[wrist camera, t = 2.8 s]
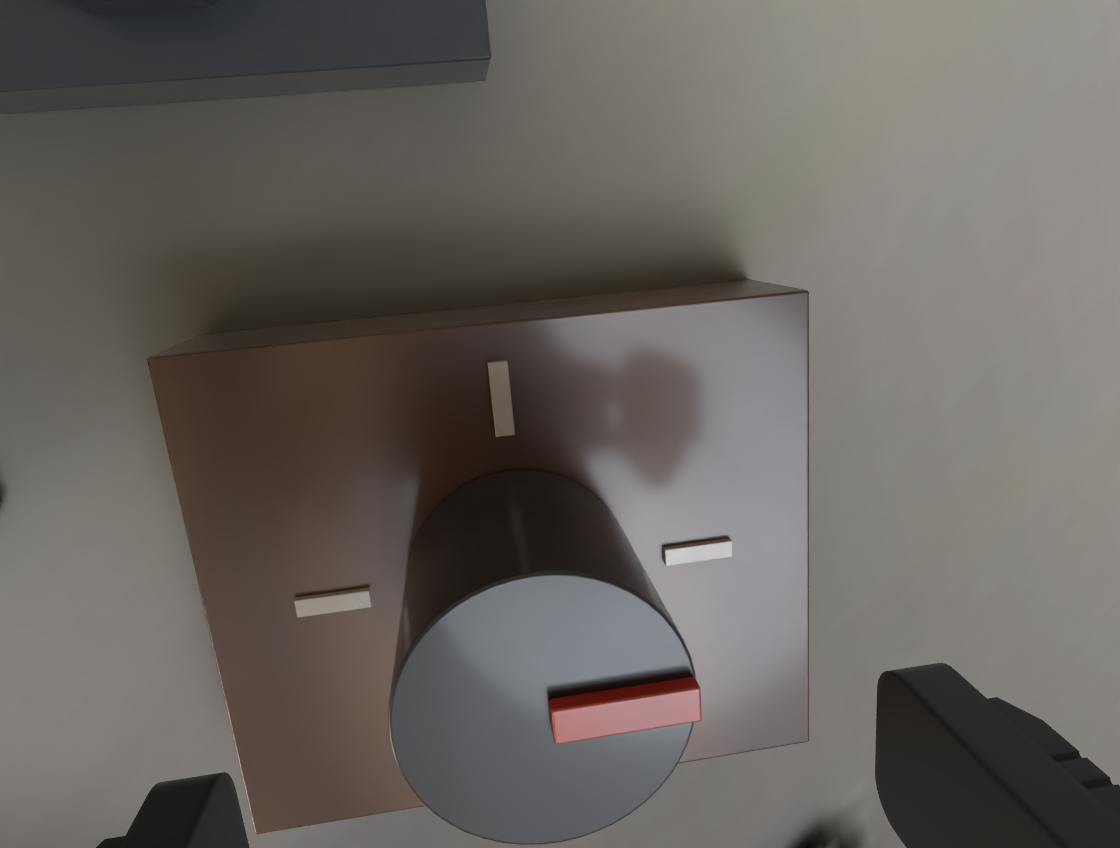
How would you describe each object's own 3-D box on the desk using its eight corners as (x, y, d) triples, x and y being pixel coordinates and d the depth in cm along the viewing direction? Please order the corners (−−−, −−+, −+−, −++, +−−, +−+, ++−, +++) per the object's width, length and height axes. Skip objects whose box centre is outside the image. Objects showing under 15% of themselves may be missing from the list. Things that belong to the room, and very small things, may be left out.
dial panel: (285, 741, 19) (252, 841, 16) (200, 334, 16) (141, 359, 13) (758, 667, 20) (813, 747, 17) (750, 279, 17) (813, 290, 14)
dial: (422, 690, 16) (410, 887, 11) (391, 484, 14) (362, 607, 10) (636, 657, 16) (710, 832, 11) (622, 456, 15) (699, 559, 10)
